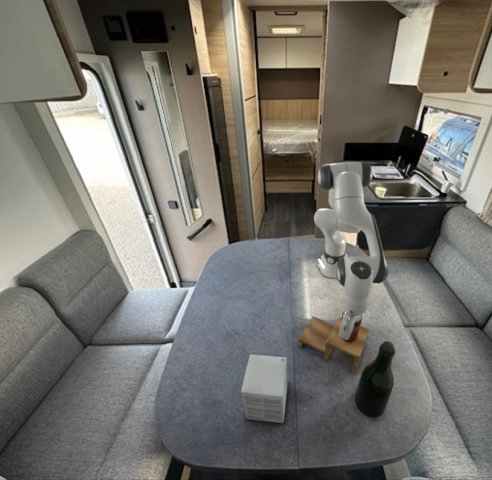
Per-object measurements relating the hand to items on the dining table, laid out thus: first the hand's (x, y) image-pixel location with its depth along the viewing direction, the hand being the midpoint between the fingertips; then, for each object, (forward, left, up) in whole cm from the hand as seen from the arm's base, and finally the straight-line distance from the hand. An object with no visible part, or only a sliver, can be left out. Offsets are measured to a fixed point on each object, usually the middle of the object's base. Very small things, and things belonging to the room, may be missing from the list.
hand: (349, 327), depth 101 cm
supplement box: (+32, -18, -16) cm, 40 cm away
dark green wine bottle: (+15, +14, -16) cm, 26 cm away
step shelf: (0, -6, -16) cm, 17 cm away
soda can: (0, 0, -5) cm, 5 cm away
